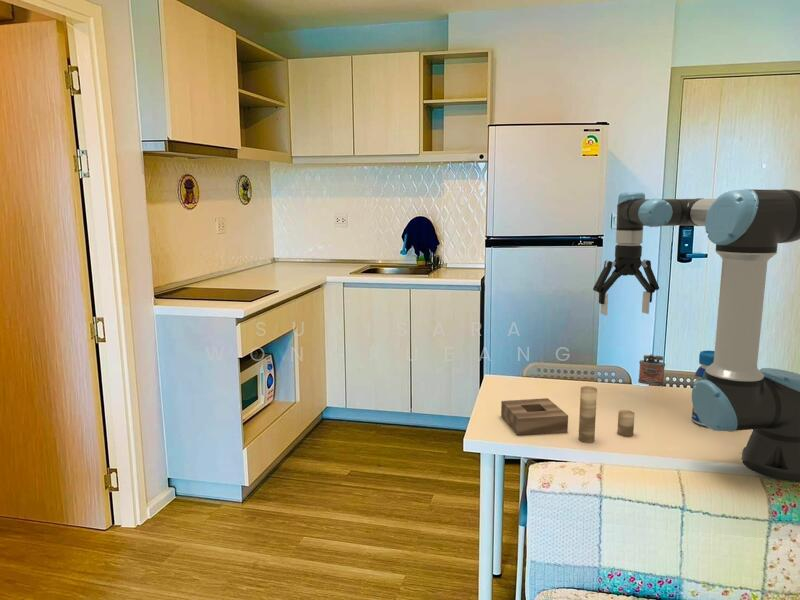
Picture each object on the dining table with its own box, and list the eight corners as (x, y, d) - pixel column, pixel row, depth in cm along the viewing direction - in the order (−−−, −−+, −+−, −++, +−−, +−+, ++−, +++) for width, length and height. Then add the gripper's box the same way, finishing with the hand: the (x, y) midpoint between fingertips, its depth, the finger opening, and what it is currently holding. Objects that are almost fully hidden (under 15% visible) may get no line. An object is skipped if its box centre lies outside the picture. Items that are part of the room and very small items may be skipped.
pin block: (567, 433, 159) (568, 415, 158) (517, 436, 157) (518, 418, 156) (547, 414, 173) (547, 398, 172) (501, 417, 171) (501, 400, 170)
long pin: (597, 442, 153) (599, 390, 150) (582, 443, 152) (585, 391, 150) (590, 436, 157) (592, 385, 154) (575, 437, 156) (578, 386, 154)
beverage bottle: (711, 430, 160) (717, 358, 157) (684, 419, 168) (689, 351, 164) (731, 424, 164) (737, 354, 161) (703, 414, 172) (709, 348, 168)
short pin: (636, 436, 157) (637, 414, 156) (622, 437, 156) (623, 415, 155) (628, 430, 160) (629, 409, 159) (614, 431, 160) (615, 410, 159)
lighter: (637, 383, 201) (639, 354, 199) (638, 380, 204) (640, 352, 202) (663, 386, 197) (665, 357, 196) (664, 383, 200) (666, 355, 199)
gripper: (659, 242, 183) (655, 310, 186) (583, 244, 179) (580, 312, 183) (674, 244, 175) (669, 314, 179) (595, 246, 172) (592, 317, 175)
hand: (624, 313), depth 181 cm, fingers open, 13 cm apart
